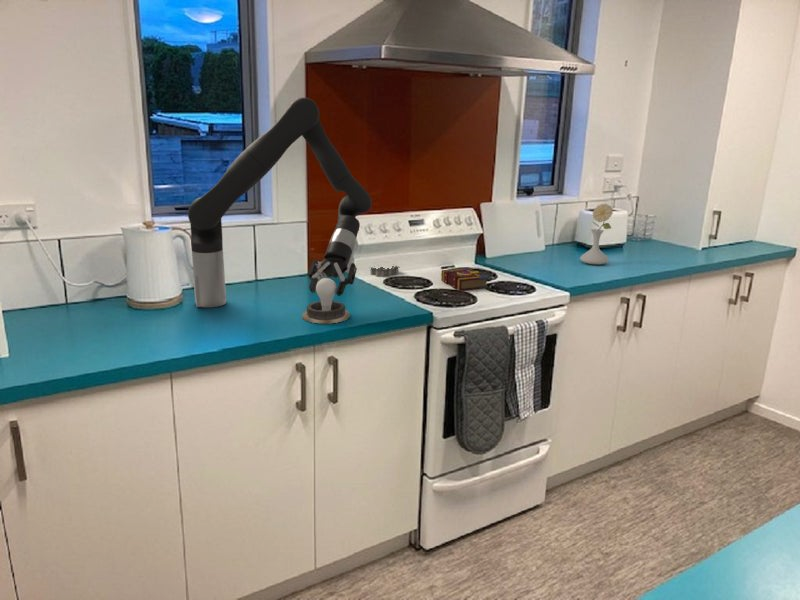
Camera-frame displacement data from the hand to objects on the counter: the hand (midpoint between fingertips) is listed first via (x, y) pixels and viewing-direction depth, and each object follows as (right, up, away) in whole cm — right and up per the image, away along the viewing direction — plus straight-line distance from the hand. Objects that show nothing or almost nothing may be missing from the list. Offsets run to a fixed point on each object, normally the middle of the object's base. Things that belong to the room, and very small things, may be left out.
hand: (325, 293), depth 188 cm
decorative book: (+45, +3, +41) cm, 61 cm away
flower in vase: (+102, +13, +75) cm, 127 cm away
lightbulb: (0, -6, +3) cm, 7 cm away
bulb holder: (0, -7, +3) cm, 8 cm away
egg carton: (+16, +7, +54) cm, 57 cm away
